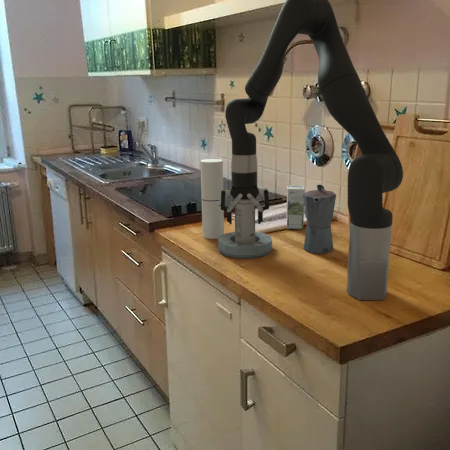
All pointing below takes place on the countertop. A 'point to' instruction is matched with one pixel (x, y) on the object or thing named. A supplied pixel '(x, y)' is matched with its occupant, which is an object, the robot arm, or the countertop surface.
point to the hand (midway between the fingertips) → (244, 223)
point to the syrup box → (295, 207)
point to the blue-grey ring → (244, 246)
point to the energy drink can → (244, 221)
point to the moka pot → (319, 220)
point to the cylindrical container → (212, 198)
